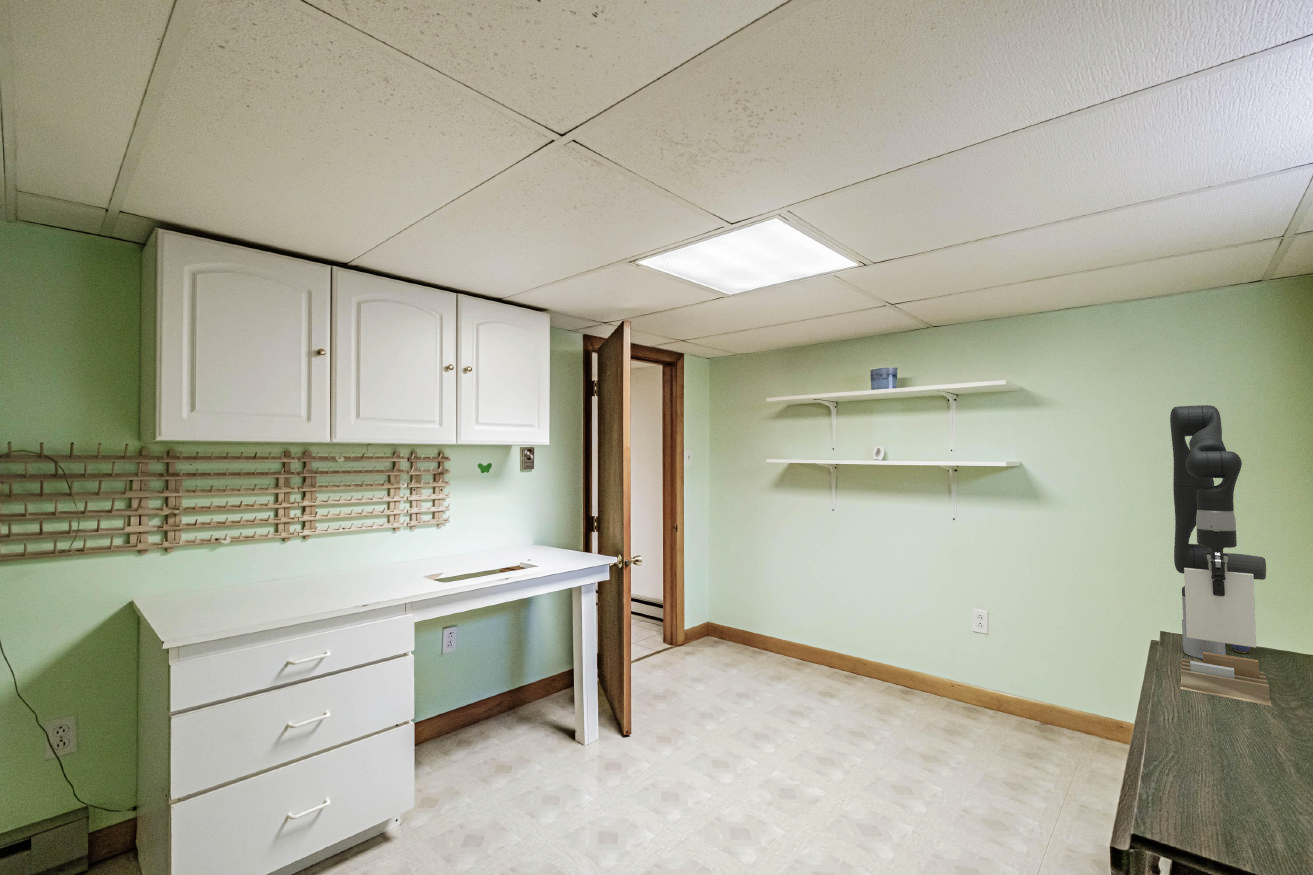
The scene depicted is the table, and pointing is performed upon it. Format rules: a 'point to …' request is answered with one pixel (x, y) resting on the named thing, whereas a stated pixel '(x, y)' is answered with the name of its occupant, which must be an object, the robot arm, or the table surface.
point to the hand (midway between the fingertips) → (1218, 594)
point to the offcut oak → (1234, 664)
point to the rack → (1226, 685)
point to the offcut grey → (1212, 669)
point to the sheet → (1220, 608)
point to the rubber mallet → (1250, 566)
